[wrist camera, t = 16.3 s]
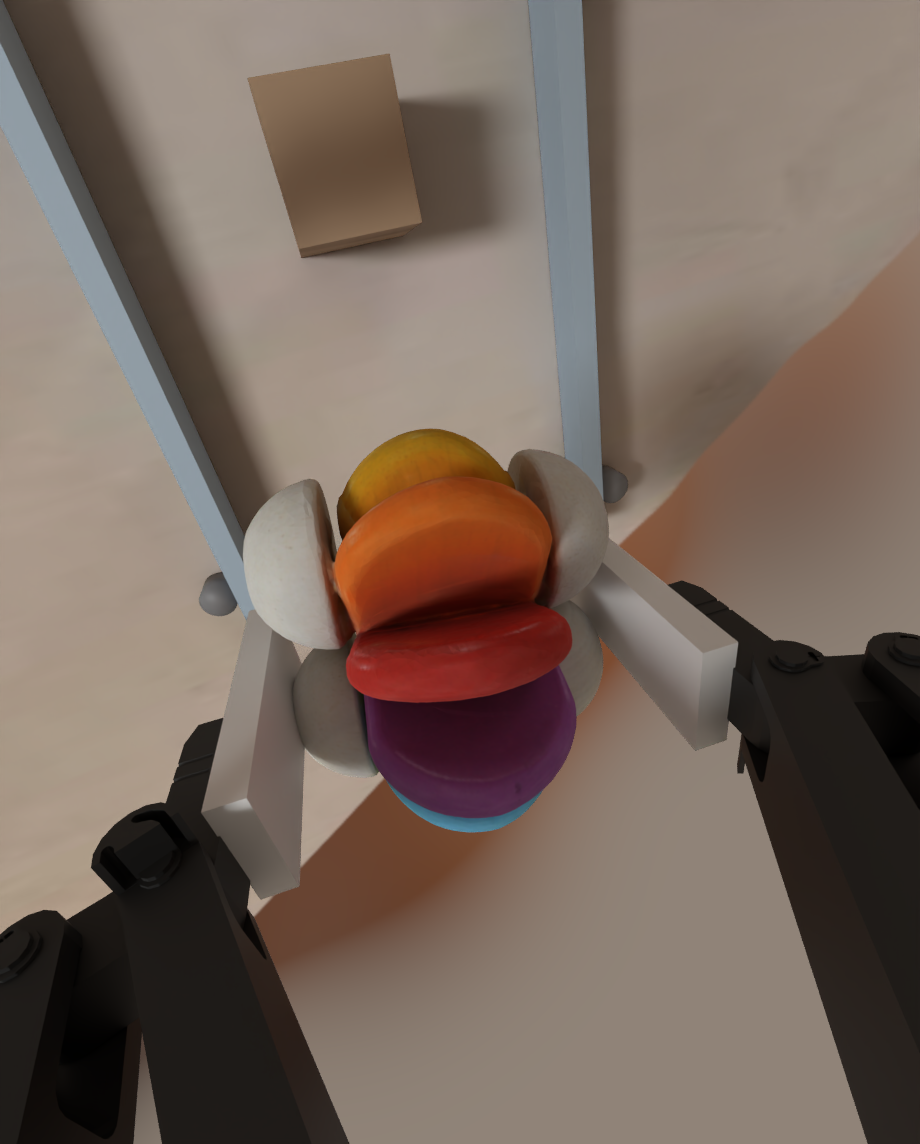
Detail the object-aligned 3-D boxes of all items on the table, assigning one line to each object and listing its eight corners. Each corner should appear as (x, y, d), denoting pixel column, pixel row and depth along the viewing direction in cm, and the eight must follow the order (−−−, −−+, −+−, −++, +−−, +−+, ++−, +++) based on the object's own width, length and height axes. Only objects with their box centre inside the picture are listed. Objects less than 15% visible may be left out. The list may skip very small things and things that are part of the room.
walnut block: (260, 121, 22) (247, 78, 17) (374, 101, 22) (389, 53, 18) (301, 257, 24) (299, 248, 20) (403, 236, 25) (422, 222, 20)
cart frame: (-121, -24, 17) (-181, -69, 15) (597, -111, 21) (630, -157, 19) (221, 621, 31) (214, 644, 29) (615, 506, 35) (635, 520, 33)
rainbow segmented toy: (561, 394, 14) (766, 466, 7) (561, 676, 18) (687, 869, 12) (231, 442, 12) (134, 580, 6) (321, 733, 17) (320, 986, 11)
